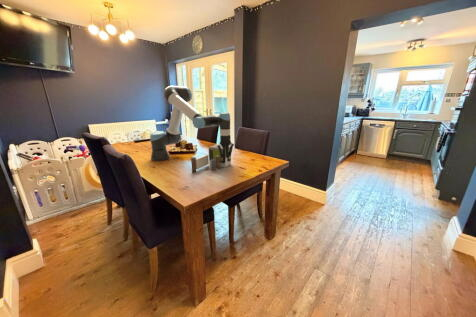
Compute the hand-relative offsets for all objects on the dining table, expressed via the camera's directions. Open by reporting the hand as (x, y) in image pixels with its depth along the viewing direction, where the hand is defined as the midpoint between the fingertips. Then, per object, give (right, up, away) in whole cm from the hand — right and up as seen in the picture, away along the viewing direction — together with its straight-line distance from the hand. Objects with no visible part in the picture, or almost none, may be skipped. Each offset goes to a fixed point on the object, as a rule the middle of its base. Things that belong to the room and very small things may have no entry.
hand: (226, 165), depth 145 cm
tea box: (-5, +1, +9) cm, 10 cm away
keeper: (-9, -3, -4) cm, 10 cm away
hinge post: (-22, -4, -8) cm, 24 cm away
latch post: (-6, -2, -1) cm, 6 cm away
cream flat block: (-18, -1, 0) cm, 18 cm away
